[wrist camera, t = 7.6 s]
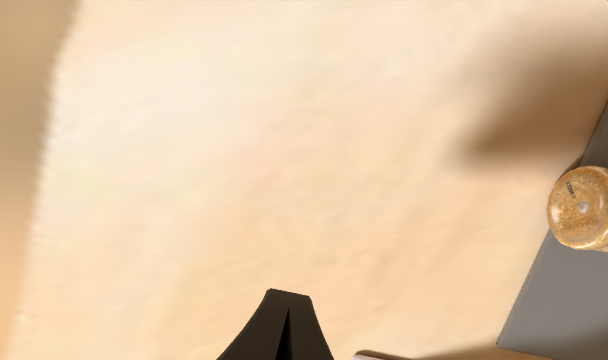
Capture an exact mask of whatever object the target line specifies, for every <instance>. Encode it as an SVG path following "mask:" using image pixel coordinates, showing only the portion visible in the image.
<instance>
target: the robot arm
mask: <svg viewBox="0 0 608 360" xmlns="http://www.w3.org/2000/svg"><path fill="white" fill-rule="evenodd" d="M216 360H334V358H333V356H332V354H331V352H330V349H329V347H328V345H327V343H326V340H325V338H324V336H323V333H322V331H321V328H320V325H319V323H318V320H317V317H316V314H315V311H314V308H313V304H312V301H311V299H310V297H309V296H306V295H301V294H296V293H291V292H287V291H282V290H277V289H272V288H271V289H269V290H267V291H266V294H265V296H264V298H263V300H262V302H261V304H260V305H259V307H258V309H257V310H256V312H255V313H254V315H253V316H252V317H251V319H250V320H249V321H248V323H247V324H246V325H245V327H244V328H243V330H242V331H241V332H240V333H239V335H238V336H237V337H236V338H235V339H234V340H233V342H232V343H231V344H230V345H229V346H228V347H227V348H226V350H225V351H224V352H223V353H222V354H221V355H220V356H219V357H218V358H217V359H216ZM351 360H383V359H378V358H373V357H368V356H363V355H354V356H353V357H352V358H351Z"/></svg>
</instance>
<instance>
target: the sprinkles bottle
mask: <svg viewBox="0 0 608 360" xmlns="http://www.w3.org/2000/svg"><path fill="white" fill-rule="evenodd" d="M547 219H548V224H549V226H550V229H551V230H552V232H553V235H554V236H555V237H556V238H557V239H558V240H559V242H560V243H562V244H564V245H566V246H568V247H571V248H573V249H578V250H591V249H592V250H596V251H602V252H608V169H606V168H604V167H598V166H582V167H579V168H576V169H574V170H571V171H569V172H567V173H566V174H565V175H564V176H562V177H561V178H560V179H559V180H558V181H557V183H556V184H555V186H554V187H553V189H552V192H551V194H550V196H549V201H548V205H547Z"/></svg>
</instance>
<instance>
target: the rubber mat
mask: <svg viewBox="0 0 608 360" xmlns="http://www.w3.org/2000/svg"><path fill="white" fill-rule="evenodd" d="M582 166H598V167H604V168H606V169H608V104H607V106H606V108H605V110H604V112H603V114H602V117H601V119H600V121H599V123H598V125H597V127H596V129H595V132H594V134H593V136H592V138H591V140H590V142H589V145H588V147H587V149H586V151H585V153H584V155H583V157H582V160H581V162H580V164H579V166H578V168H579V167H582ZM496 344H497V345H498V347H499V348H503V349H508V350H513V351H518V352H522V353H527V354H532V355H537V356H542V357H547V358H552V359H557V360H608V252H602V251H596V250H592V249H591V250H578V249H573V248H571V247H568V246H566V245H564V244H562V243H560V242H559V240H558V239H557V238H556V237H555V236H554V235H553V232H552V230H551V229H550V228H549V231H548V233H547V235H546V237H545V239H544V241H543V244H542V246H541V248H540V250H539V252H538V254H537V256H536V259H535V261H534V263H533V265H532V267H531V269H530V272H529V274H528V276H527V278H526V280H525V282H524V284H523V287H522V289H521V291H520V293H519V295H518V297H517V299H516V302H515V304H514V306H513V308H512V310H511V312H510V315H509V317H508V319H507V321H506V323H505V325H504V327H503V330H502V332H501V334H500V336H499V338H498V340H497V343H496Z"/></svg>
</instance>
